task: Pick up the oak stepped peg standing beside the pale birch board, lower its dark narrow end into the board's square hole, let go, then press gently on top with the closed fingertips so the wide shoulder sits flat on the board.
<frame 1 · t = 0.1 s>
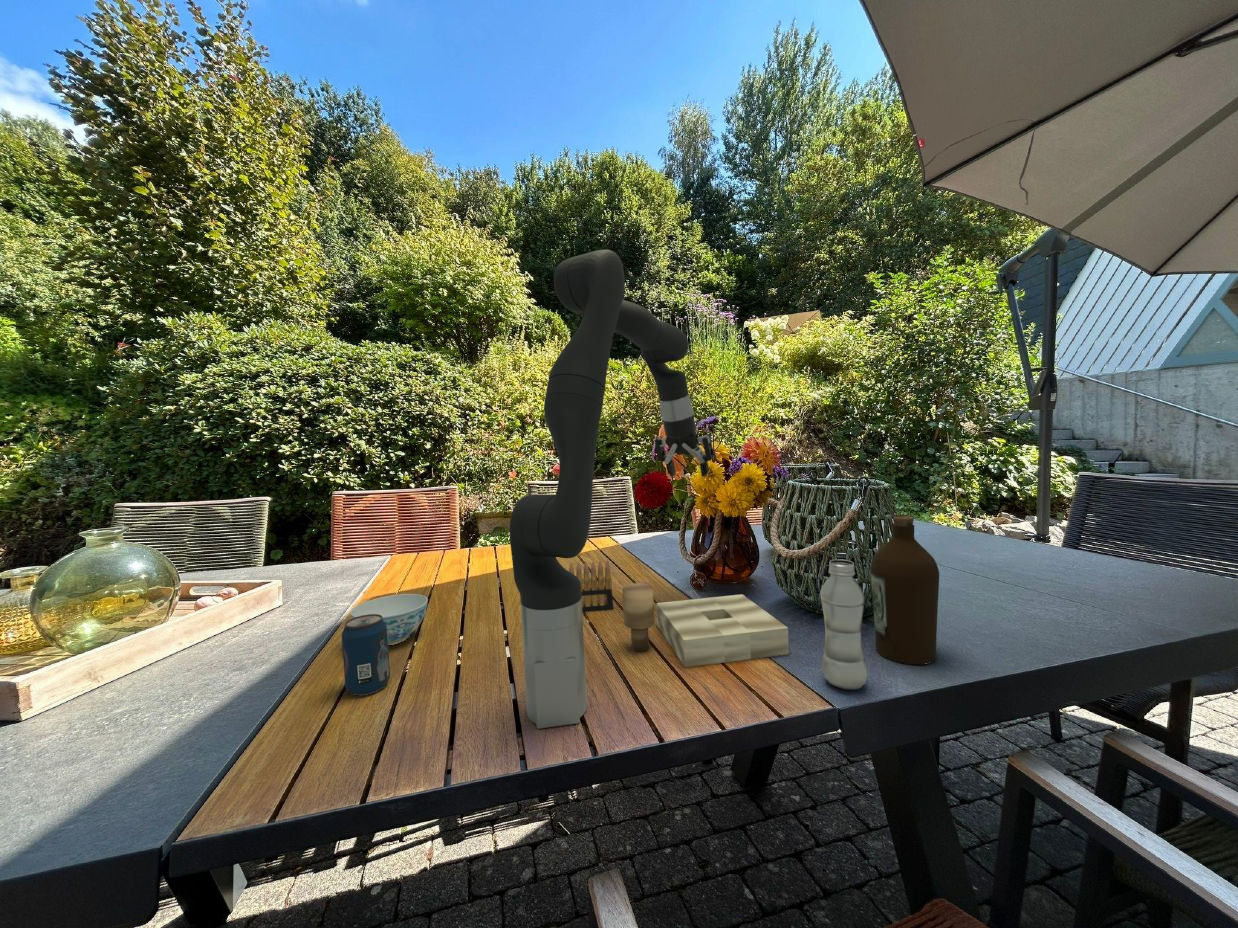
hand: (688, 475, 121), 31 cm above the table, tool tilted 20°, fingers open, 8 cm apart
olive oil: (904, 654, 87), on the table
peg: (640, 647, 94), on the table
board: (717, 638, 97), on the table
ammunition clip: (591, 610, 117), on the table
soda can: (368, 688, 83), on the table
chinaware: (392, 640, 103), on the table
plastic bottle: (844, 685, 77), on the table
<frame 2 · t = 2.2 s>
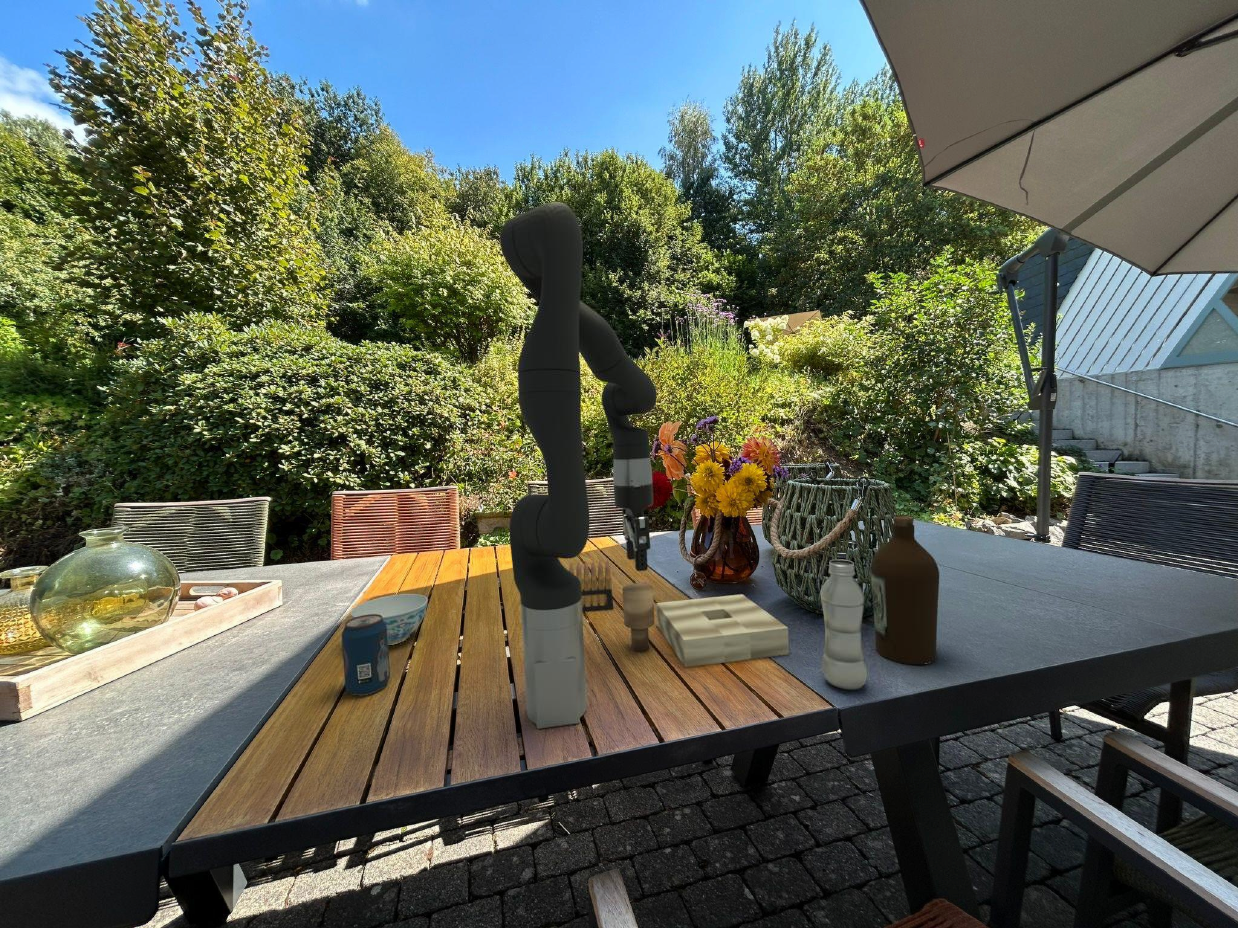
hand: (636, 564, 93), 17 cm above the table, tool pointing down, fingers open, 8 cm apart
nothing on the table moved.
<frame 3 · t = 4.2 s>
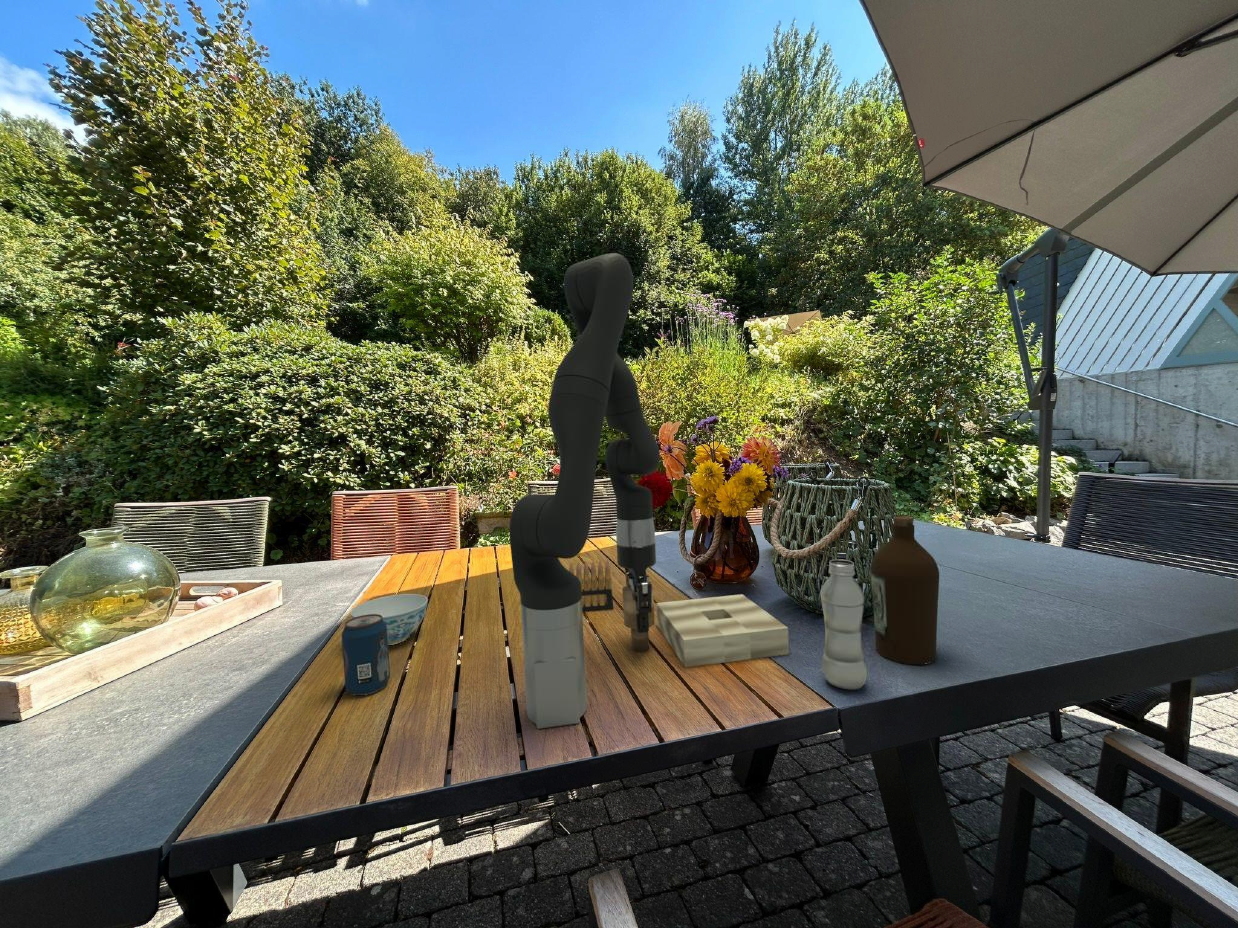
hand: (639, 625, 94), 5 cm above the table, tool pointing down, fingers closed on peg, 6 cm apart
peg: (640, 647, 94), on the table, touching gripper
everything else where it was.
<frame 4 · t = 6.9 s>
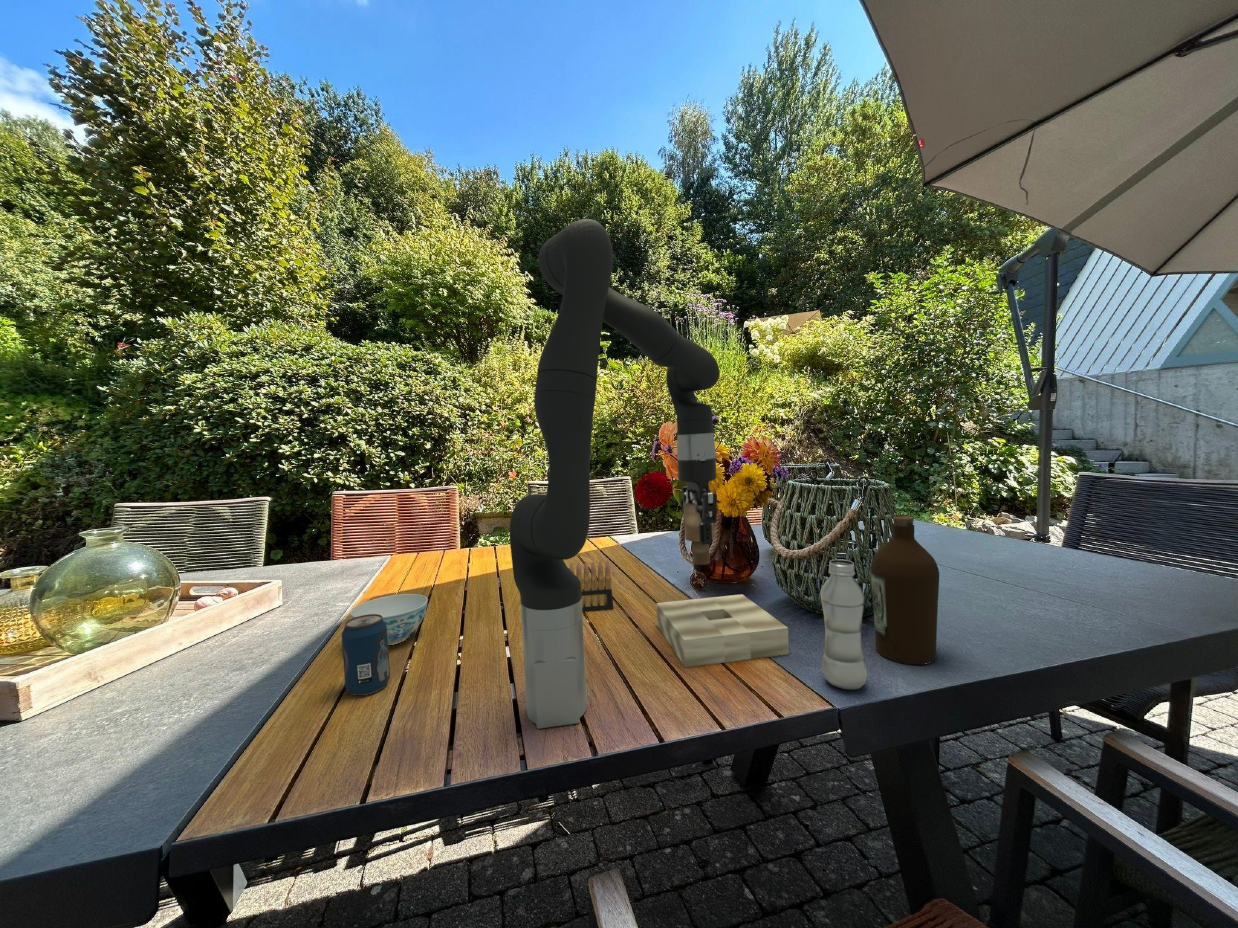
hand: (700, 539, 96), 20 cm above the table, tool pointing down, fingers closed on peg, 6 cm apart
peg: (701, 562, 96), point 16 cm above the table, touching gripper
everything else where it was.
when the fingers open (6 cm above the table, at t = 9.8 s): peg drops 1 cm, resting on board.
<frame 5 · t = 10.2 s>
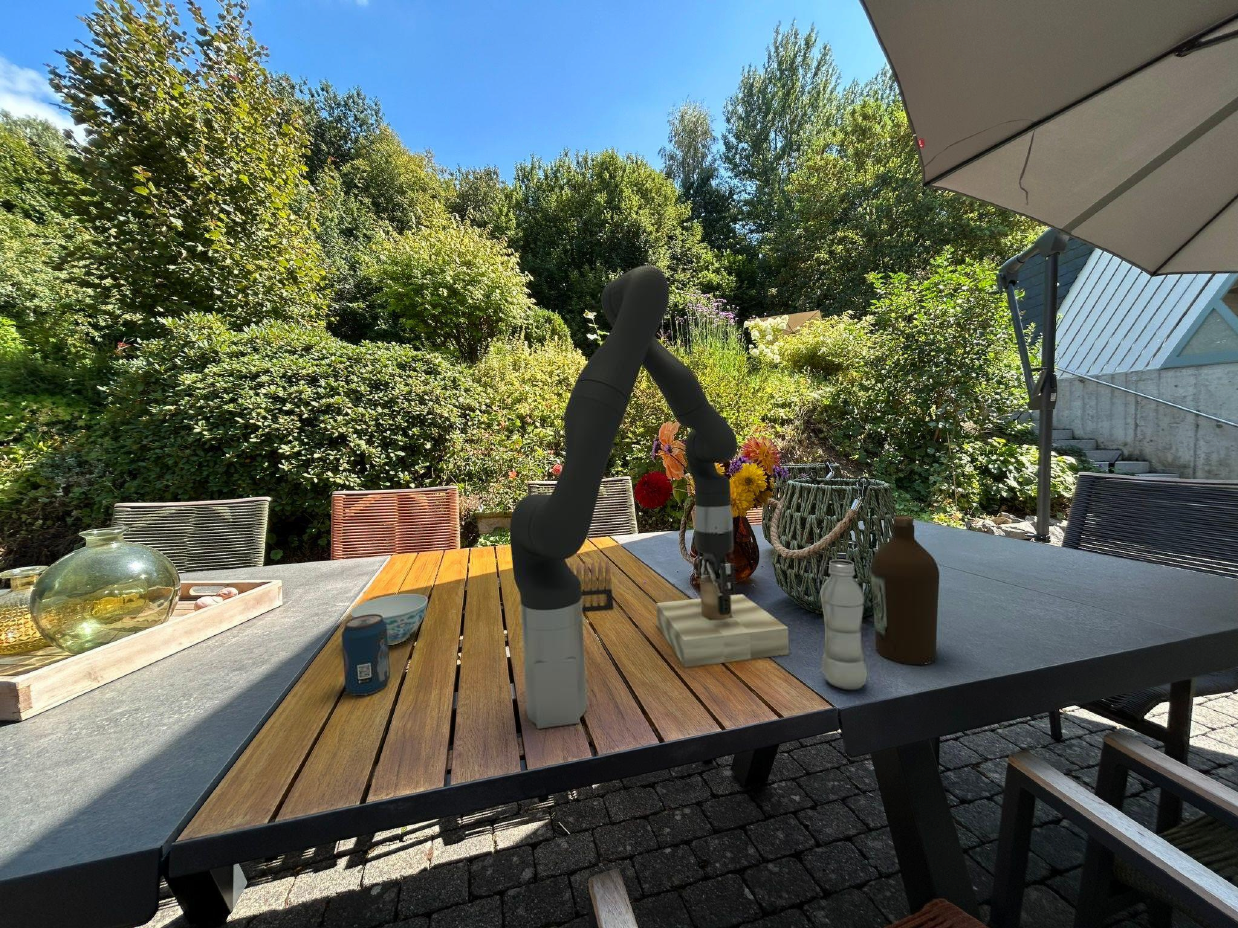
hand: (716, 606, 96), 7 cm above the table, tool pointing down, fingers open, 8 cm apart
peg: (717, 638, 97), resting on board
everything else where it was.
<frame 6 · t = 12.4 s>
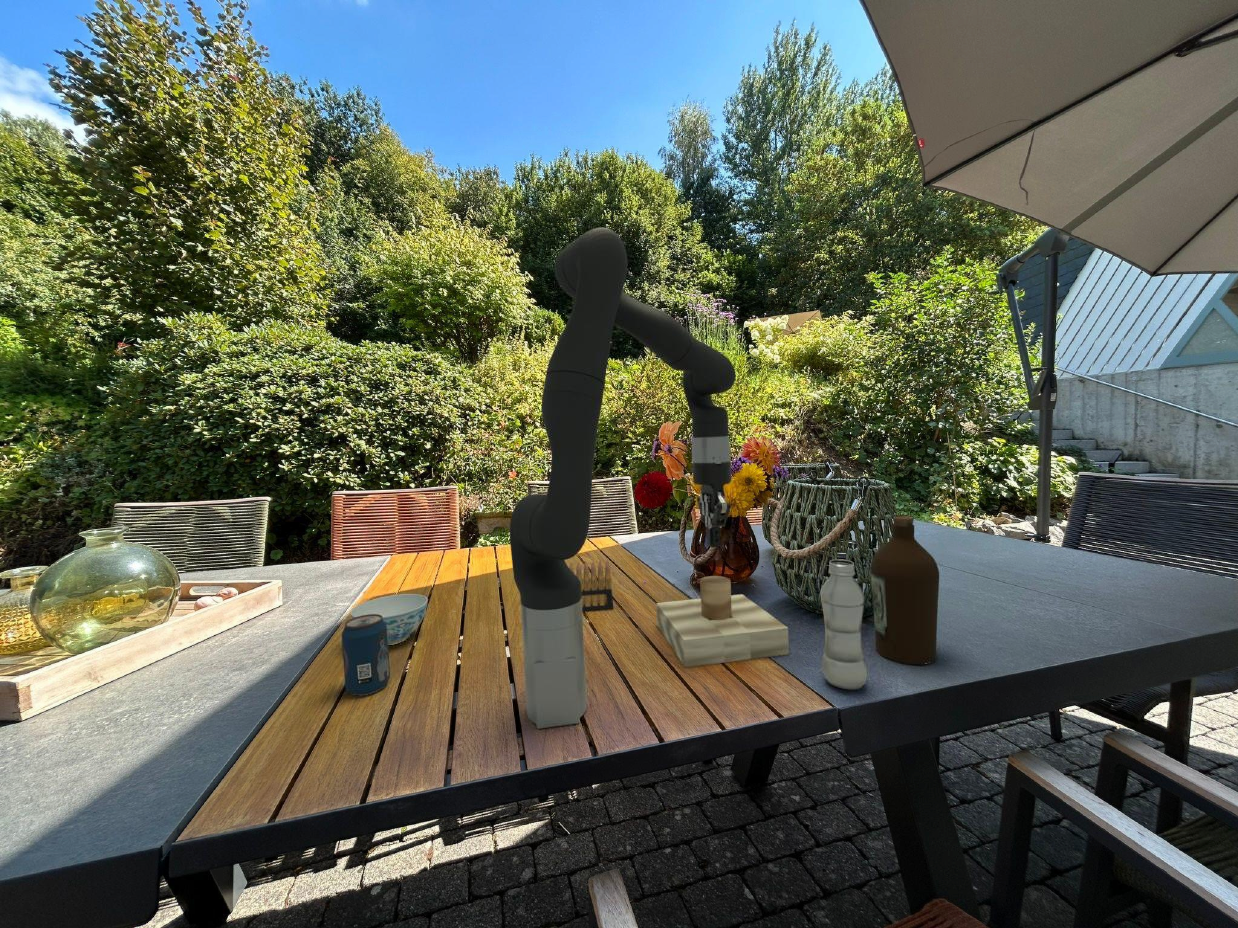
hand: (714, 546, 96), 19 cm above the table, tool pointing down, fingers closed
nothing on the table moved.
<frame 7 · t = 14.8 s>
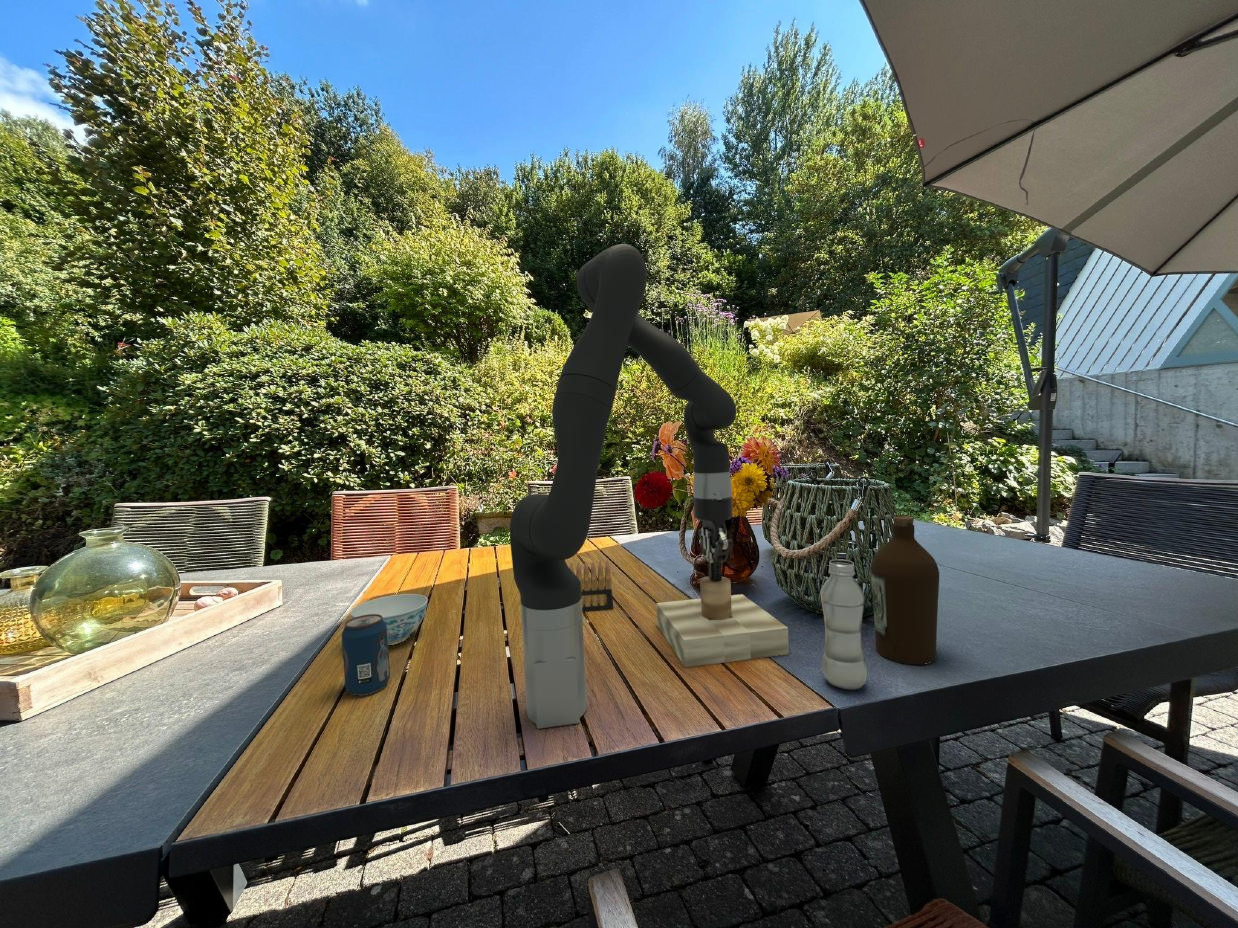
hand: (715, 580, 96), 12 cm above the table, tool pointing down, fingers closed
peg: (717, 638, 97), resting on board, touching gripper
everything else where it was.
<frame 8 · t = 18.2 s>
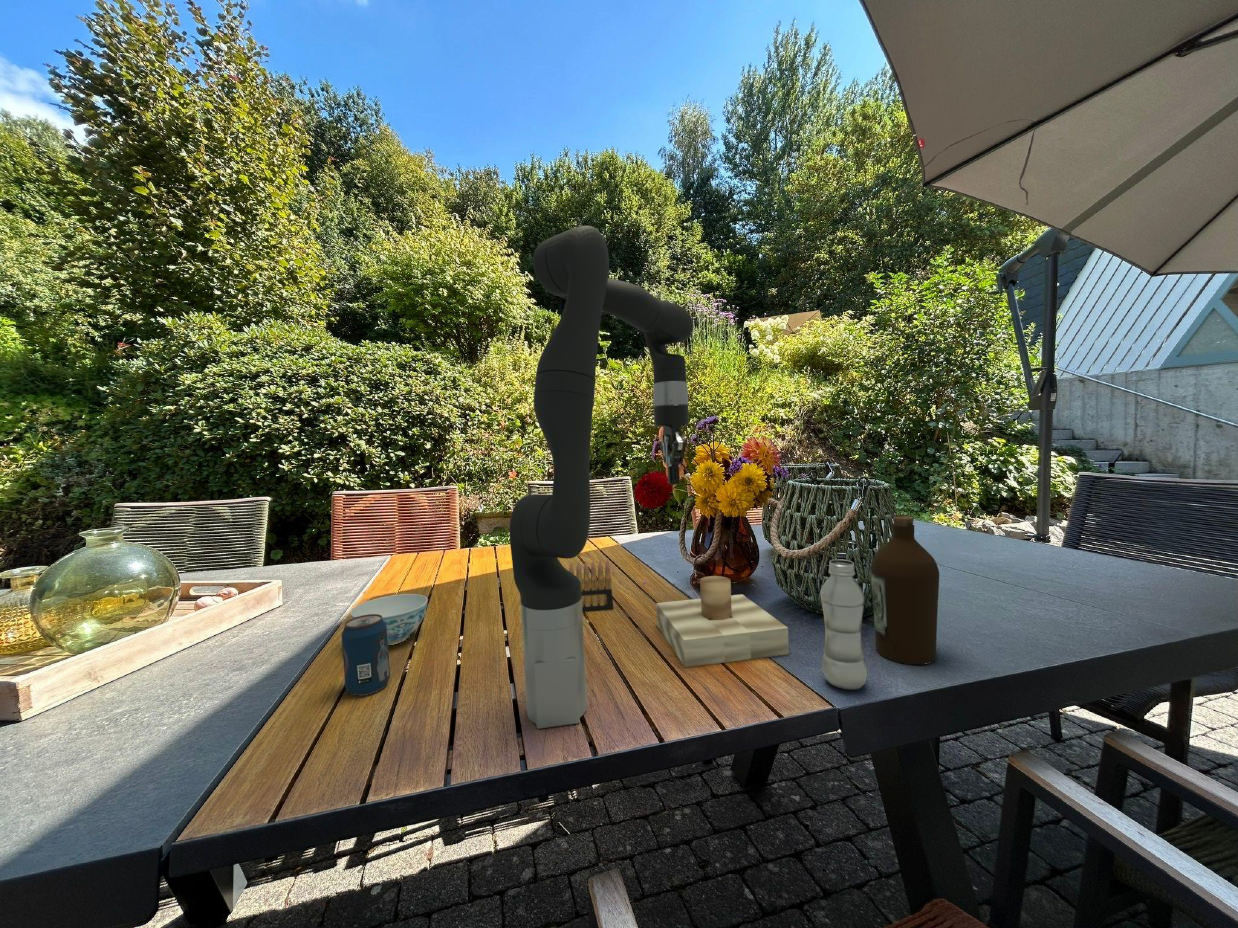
hand: (673, 483, 104), 31 cm above the table, tool pointing down, fingers closed
peg: (717, 638, 97), resting on board
everything else where it was.
at the end: peg 0.0 cm off-centre on the board, point 0.0 cm above the board's base; peg tilted 0°; the gripper is holding nothing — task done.
